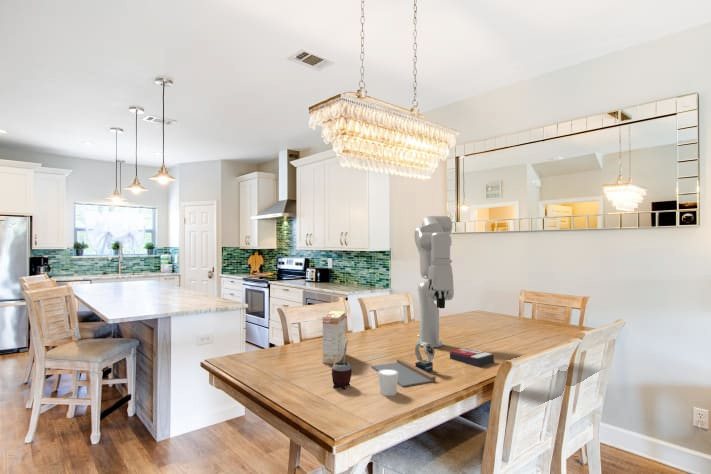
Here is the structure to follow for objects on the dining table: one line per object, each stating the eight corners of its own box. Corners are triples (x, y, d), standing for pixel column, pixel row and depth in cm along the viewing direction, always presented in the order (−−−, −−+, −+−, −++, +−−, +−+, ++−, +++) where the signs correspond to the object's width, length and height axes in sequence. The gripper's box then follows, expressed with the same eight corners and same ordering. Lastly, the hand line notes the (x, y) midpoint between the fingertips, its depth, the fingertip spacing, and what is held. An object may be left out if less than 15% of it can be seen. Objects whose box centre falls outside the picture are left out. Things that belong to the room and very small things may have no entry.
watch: (428, 374, 150) (428, 346, 150) (411, 369, 156) (412, 342, 156) (436, 371, 154) (436, 343, 154) (420, 366, 160) (420, 339, 160)
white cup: (400, 390, 134) (400, 369, 134) (395, 397, 127) (395, 376, 127) (381, 387, 136) (381, 367, 136) (375, 395, 130) (375, 373, 130)
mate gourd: (335, 391, 132) (336, 347, 133) (328, 383, 140) (328, 342, 140) (355, 388, 135) (356, 345, 136) (347, 381, 143) (347, 340, 143)
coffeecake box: (331, 353, 179) (331, 310, 179) (346, 354, 177) (346, 311, 178) (321, 362, 164) (321, 316, 164) (338, 364, 163) (338, 317, 163)
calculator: (464, 347, 178) (493, 352, 166) (465, 356, 178) (494, 363, 166) (449, 350, 171) (478, 357, 159) (449, 360, 171) (478, 367, 159)
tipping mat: (371, 367, 158) (371, 363, 158) (400, 363, 164) (400, 358, 164) (402, 387, 137) (402, 382, 137) (435, 381, 142) (435, 376, 142)
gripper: (449, 262, 165) (449, 305, 165) (420, 262, 159) (420, 307, 159) (461, 262, 159) (461, 308, 158) (431, 263, 152) (431, 310, 152)
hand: (440, 307), depth 158 cm, fingers closed
